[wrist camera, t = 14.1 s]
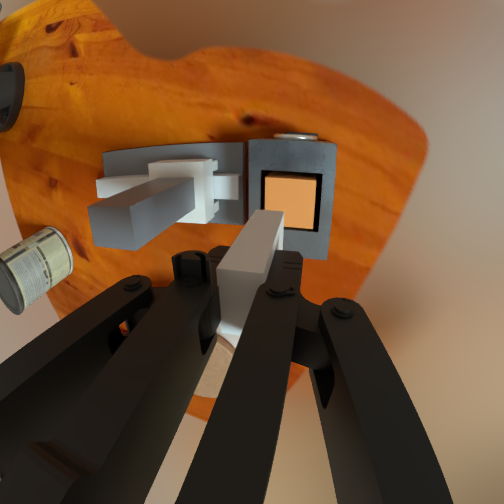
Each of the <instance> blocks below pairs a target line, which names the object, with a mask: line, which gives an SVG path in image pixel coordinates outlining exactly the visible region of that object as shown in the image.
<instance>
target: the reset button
mask: <svg viewBox="0 0 504 504" xmlns="http://www.w3.org/2000/svg"><path fill="white" fill-rule="evenodd" d="M315 193H316V173H303V172H288V171H272V172H271V173H270V174H269V175H267V176H266V177H265V210H272V211H284V227H295V228H306V229H313V221H314V208H315Z"/></svg>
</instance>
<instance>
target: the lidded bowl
mask: <svg viewBox="0 0 504 504" xmlns="http://www.w3.org/2000/svg"><path fill="white" fill-rule="evenodd" d="M239 338H240V336H238V335H232V334H225V333H221V323H220V324H219V326H218V328H217V343H216V345H215V347H214V349H213V352H212V354H211V356H210V358H209V361H208V363H207V365H206V367H205V370H204V372H203V374H202V376H201V378H200V381H199V383H198V385H197V387H196V390H195V392H194V394H195V395H199V396H203V397H210V398H217V397H218V394H219V391H220V389H221V386H222V383H223V381H224V378H225V376H226V373H227V370H228V368H229V365H230V362H231V360H232V357H233V354H234V352H235V349H236V346H237V343H238V341H239Z"/></svg>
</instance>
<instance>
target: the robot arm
mask: <svg viewBox="0 0 504 504" xmlns="http://www.w3.org/2000/svg"><path fill="white" fill-rule="evenodd" d="M1 8H2V6H1V3H0V11H1ZM23 92H24V71H23V67H22V65H21V64H20V63H18V62H9V63H5V64H3V65H1V66H0V133H2V132H6V131H8V130H10V129H11V127H12V126H13V125H14V123H15V121H16V119H17V116H18V114H19V111H20V107H21V103H22V98H23ZM283 231H284V211H272V210H257V209H256V210H255V212H254V213H253V215H252V216H251V217H250V219H249V220H248V222H247V223H246V225H245V226H244V228H243V229H242V231H241V232H240V234H239V235H238V237H237V238H236V240H235V241H234V243H233V244H232V245H231V247H230V246H217V247H215V248H213V249H211V250H210V251H209V253H208V254H207V253H205V252H202V251H184V252H181V253H178V254H176V255H174V256H173V257H172V264H173V271H174V278H175V279H174V280H173V282H172V283H171V284H170V285H169V286H168V287H153V288H152V284H151V281H150V279H149V278H148V277H146V276H141V275H132V276H130V277H126V278H124V279H122V280H120V281H119V282H117V283H116V284H114V285H113V286H111V287H110V288H108V289H106V290H105V291H103V292H102V293H100V294H99V295H97V296H96V297H94V298H93V299H91V300H90V301H88V302H87V303H85V304H84V305H82V306H81V307H79V308H78V309H76V310H75V311H73V312H72V313H70V314H69V315H67V316H66V317H65V318H63V319H62V320H60V321H59V322H57V323H56V324H54V325H53V326H52V327H50V328H49V329H47V330H46V331H45V332H43V333H42V334H40V335H39V336H38V337H36V338H35V339H34V340H32V341H31V342H29V343H28V344H26V345H25V346H24V347H22V348H21V349H20V350H18V351H17V352H16V353H14V354H13V355H12V356H10V357H9V358H8V359H6V360H5V361H4V362H3V363H1V364H0V504H144V502H145V499H146V497H147V495H148V493H149V490H150V488H151V486H152V484H153V482H154V480H155V478H156V475H157V473H158V471H159V469H160V466H161V464H162V462H163V460H164V458H165V456H166V453H167V451H168V449H169V447H170V445H171V443H172V440H173V438H174V436H175V434H176V432H177V429H178V427H179V424H180V423H181V421H182V418H183V416H184V414H185V412H186V409H187V407H188V405H189V403H190V401H191V398H192V396H193V394H194V392H195V390H196V387H197V385H198V383H199V381H200V378H201V376H202V374H203V372H204V370H205V367H206V365H207V363H208V361H209V358H210V356H211V354H212V352H213V349H214V347H215V345H216V343H217V328H218V326H219V324H220V323H221V333H225V334H232V335H238V336H240V338H239V341H238V343H237V346H236V349H235V352H234V354H233V357H232V360H231V362H230V365H229V368H228V370H227V373H226V376H225V378H224V381H223V383H222V386H221V389H220V391H219V394H218V397H217V399H216V402H215V404H214V407H213V410H212V412H211V415H210V417H209V420H208V422H207V425H206V428H205V430H204V433H203V435H202V438H201V440H200V443H199V446H198V448H197V451H196V453H195V455H194V458H193V461H192V463H191V465H190V468H189V470H188V473H187V476H186V478H185V481H184V483H183V485H182V488H181V490H180V493H179V496H178V497H177V500H176V502H175V504H263V503H264V499H265V495H266V491H267V487H268V482H269V477H270V473H271V469H272V464H273V460H274V455H275V450H276V445H277V440H278V435H279V430H280V424H281V419H282V413H283V408H284V402H285V396H286V390H287V384H288V378H289V372H290V366H291V361H292V362H295V363H297V364H300V365H303V366H306V367H308V368H309V373H310V378H311V382H312V386H313V390H314V394H315V399H316V403H317V407H318V412H319V417H320V421H321V425H322V430H323V435H324V439H325V444H326V448H327V453H328V458H329V463H330V468H331V473H332V477H333V483H334V488H335V493H336V498H337V503H338V504H453V501H452V498H451V495H450V492H449V489H448V486H447V484H446V481H445V478H444V476H443V473H442V470H441V467H440V465H439V463H438V460H437V457H436V455H435V452H434V450H433V448H432V445H431V443H430V440H429V438H428V436H427V434H426V431H425V429H424V427H423V424H422V422H421V420H420V418H419V416H418V413H417V411H416V409H415V407H414V405H413V403H412V400H411V399H410V396H409V394H408V392H407V390H406V388H405V386H404V384H403V382H402V380H401V378H400V376H399V374H398V372H397V370H396V368H395V366H394V364H393V362H392V360H391V358H390V357H389V355H388V353H387V351H386V349H385V347H384V345H383V343H382V342H381V340H380V338H379V336H378V334H377V333H376V331H375V329H374V327H373V325H372V323H371V322H370V320H369V318H368V316H367V315H366V313H365V311H364V309H363V308H362V307H361V306H360V305H359V304H358V303H356V302H355V301H353V300H350V299H347V298H332V299H328V300H326V301H325V302H323V304H322V305H321V306H320V305H317V304H314V303H311V302H309V301H308V300H306V299H305V298H304V297H303V296H302V294H301V293H300V286H301V276H302V265H303V256H302V255H301V254H300V252H298V251H287V250H283ZM124 321H125V324H126V327H127V330H128V332H127V333H125V334H122V333H121V331H120V328H119V325H120V324H121V323H122V322H124Z"/></svg>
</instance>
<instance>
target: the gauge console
mask: <svg viewBox="0 0 504 504" xmlns="http://www.w3.org/2000/svg"><path fill="white" fill-rule="evenodd" d="M336 153H337V144H336V143H334V142H330V141H318V134H314V133H298V132H286V134H273V138H258V139H249V219H250V217H251V216H252V215H253V213H254V212H255V210H256V209H257V210H265V177H266V176H267V175H269V171H270V170H276V171H294V172H308V173H320V174H323V175H322V191H321V204H320V217H319V227H314V226H313V229H306V228H295V227H284V231H283V250H287V251H298V252H300V254H301V255H302V256H303V258H308V259H319V260H327V255H328V246H329V238H330V229H331V219H332V209H333V197H334V185H335V170H336Z"/></svg>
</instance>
